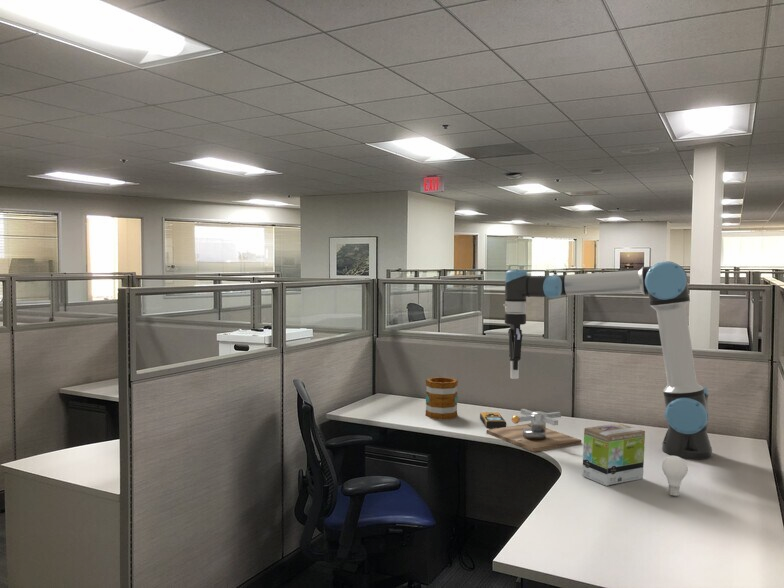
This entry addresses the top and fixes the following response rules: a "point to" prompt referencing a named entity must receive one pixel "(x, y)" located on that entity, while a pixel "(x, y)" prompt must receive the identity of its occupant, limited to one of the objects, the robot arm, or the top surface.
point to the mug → (441, 398)
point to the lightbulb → (674, 473)
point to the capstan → (536, 423)
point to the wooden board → (516, 437)
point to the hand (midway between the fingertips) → (514, 378)
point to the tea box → (613, 454)
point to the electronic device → (492, 420)
